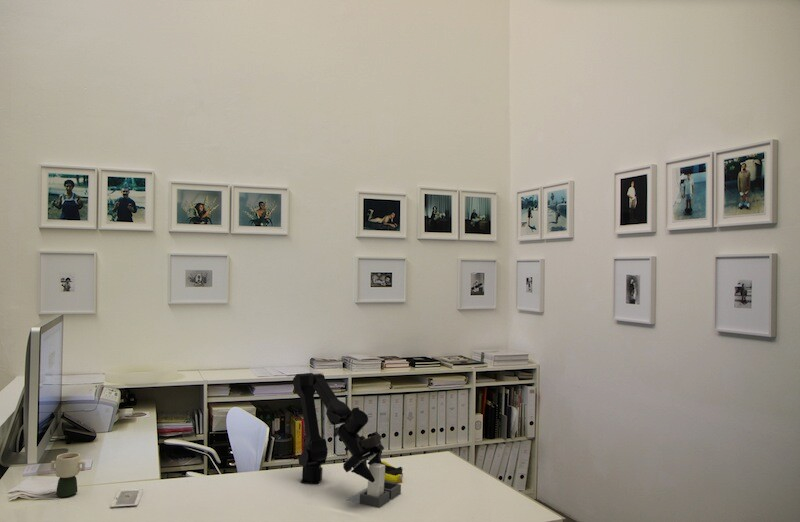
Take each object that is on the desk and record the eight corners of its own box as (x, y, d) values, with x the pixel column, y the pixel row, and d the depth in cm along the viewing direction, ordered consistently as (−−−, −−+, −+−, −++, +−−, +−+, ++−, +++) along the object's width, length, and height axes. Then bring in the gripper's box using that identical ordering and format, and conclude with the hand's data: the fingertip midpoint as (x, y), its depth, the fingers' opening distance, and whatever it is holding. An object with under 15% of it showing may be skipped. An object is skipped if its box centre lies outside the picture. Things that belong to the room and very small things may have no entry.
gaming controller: (373, 487, 225) (401, 488, 224) (374, 472, 225) (402, 473, 225) (377, 474, 240) (403, 475, 239) (377, 459, 240) (403, 460, 240)
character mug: (88, 491, 211) (89, 452, 211) (79, 499, 204) (81, 458, 204) (54, 491, 210) (56, 452, 210) (44, 498, 203) (46, 458, 203)
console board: (345, 503, 208) (345, 491, 208) (368, 489, 223) (369, 477, 223) (379, 511, 202) (379, 498, 203) (401, 496, 217) (401, 484, 217)
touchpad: (143, 492, 213) (143, 485, 213) (137, 508, 199) (137, 501, 199) (118, 493, 211) (118, 486, 211) (110, 510, 197) (110, 503, 197)
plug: (366, 502, 207) (369, 465, 207) (372, 499, 210) (374, 462, 211) (378, 505, 205) (380, 467, 205) (383, 501, 208) (386, 465, 209)
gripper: (352, 431, 201) (381, 471, 196) (380, 419, 218) (407, 457, 213) (331, 451, 205) (358, 492, 200) (359, 439, 221) (386, 476, 216)
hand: (379, 478), depth 207 cm, fingers open, 7 cm apart
